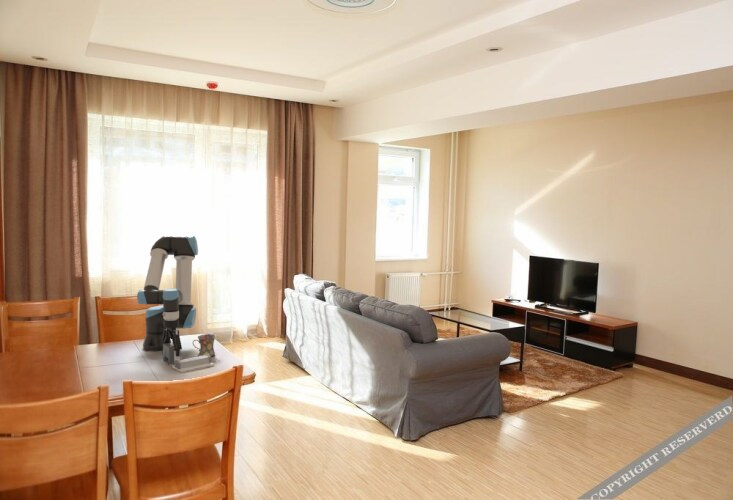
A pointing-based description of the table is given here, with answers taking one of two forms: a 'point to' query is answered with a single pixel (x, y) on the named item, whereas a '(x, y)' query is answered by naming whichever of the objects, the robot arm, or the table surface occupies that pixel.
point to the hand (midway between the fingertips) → (171, 359)
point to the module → (169, 353)
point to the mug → (206, 344)
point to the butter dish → (193, 363)
